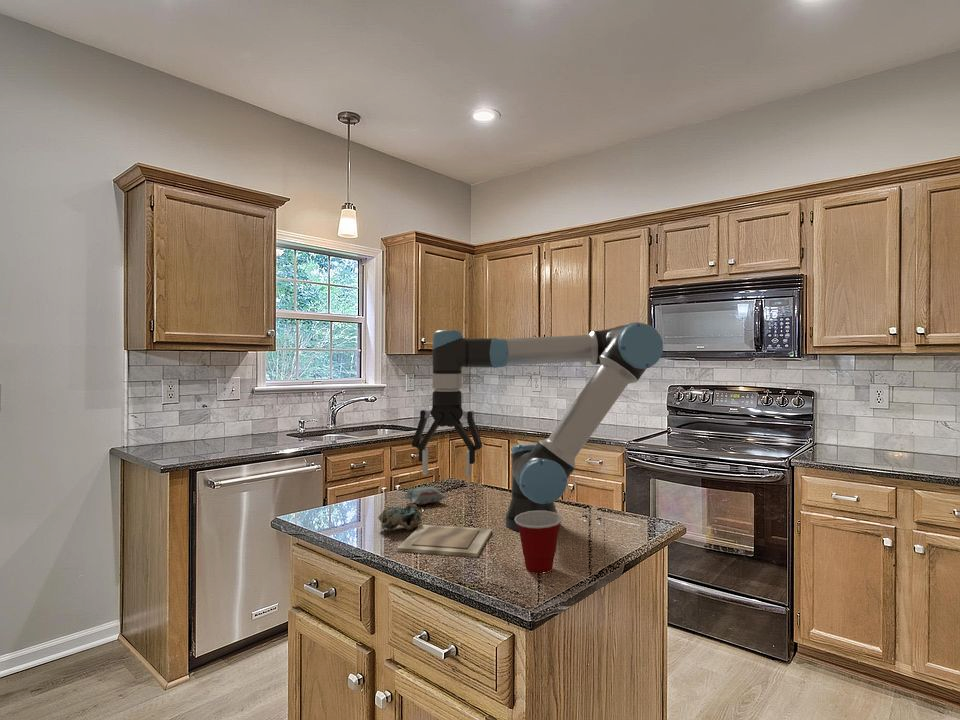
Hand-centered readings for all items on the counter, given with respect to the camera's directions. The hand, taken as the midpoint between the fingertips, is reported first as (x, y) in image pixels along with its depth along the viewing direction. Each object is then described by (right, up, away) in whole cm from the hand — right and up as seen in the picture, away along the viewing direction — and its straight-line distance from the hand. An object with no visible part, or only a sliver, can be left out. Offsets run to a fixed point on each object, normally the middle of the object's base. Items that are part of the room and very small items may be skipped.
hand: (446, 475), depth 149 cm
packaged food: (-11, -18, +35) cm, 41 cm away
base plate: (0, -17, 0) cm, 17 cm away
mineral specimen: (-14, -18, +10) cm, 25 cm away
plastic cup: (+22, -17, -20) cm, 34 cm away
